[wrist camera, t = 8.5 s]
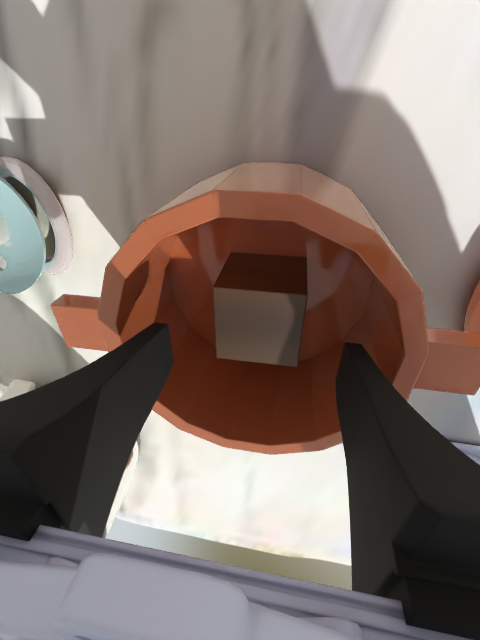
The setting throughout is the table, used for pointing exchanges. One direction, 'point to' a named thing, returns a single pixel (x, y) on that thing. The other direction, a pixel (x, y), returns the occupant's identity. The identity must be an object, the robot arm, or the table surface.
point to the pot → (320, 316)
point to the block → (260, 308)
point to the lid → (473, 312)
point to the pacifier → (29, 230)
